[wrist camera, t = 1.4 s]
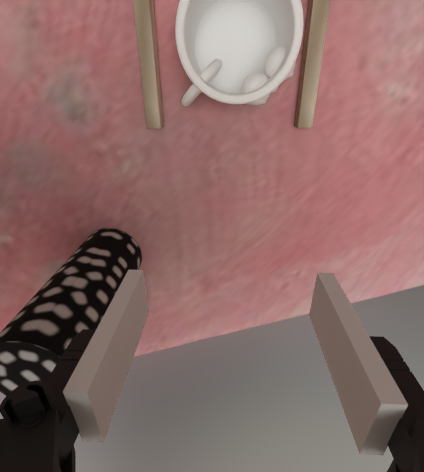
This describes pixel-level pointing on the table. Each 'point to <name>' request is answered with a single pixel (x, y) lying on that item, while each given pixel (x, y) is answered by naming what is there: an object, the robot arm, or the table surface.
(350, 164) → the table surface
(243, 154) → the table surface
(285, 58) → the mug
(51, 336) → the spotted tube
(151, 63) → the guide channel
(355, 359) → the robot arm
